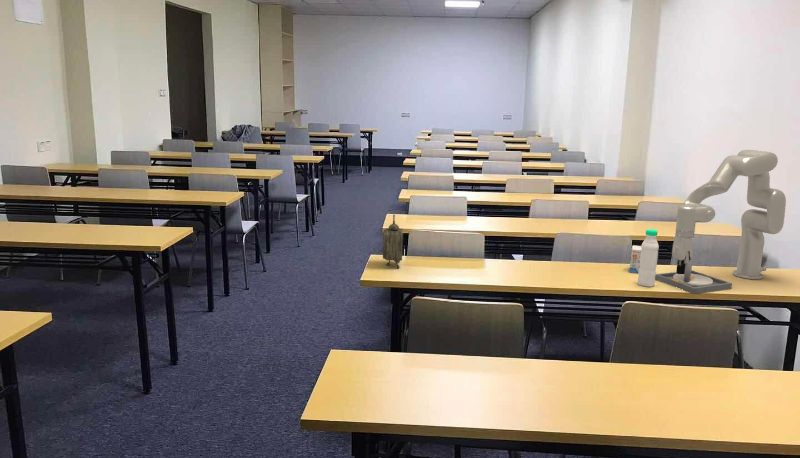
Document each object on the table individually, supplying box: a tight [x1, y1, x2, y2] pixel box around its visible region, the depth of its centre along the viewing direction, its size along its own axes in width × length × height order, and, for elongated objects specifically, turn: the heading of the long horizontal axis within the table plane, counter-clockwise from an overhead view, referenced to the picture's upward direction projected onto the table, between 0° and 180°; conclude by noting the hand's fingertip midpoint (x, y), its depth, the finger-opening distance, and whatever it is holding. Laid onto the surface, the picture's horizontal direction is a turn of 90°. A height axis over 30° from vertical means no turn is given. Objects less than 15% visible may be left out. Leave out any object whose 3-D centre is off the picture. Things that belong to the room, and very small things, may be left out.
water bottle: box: [637, 228, 660, 288], centre depth 266 cm, size 7×7×25 cm
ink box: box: [628, 245, 642, 274], centre depth 288 cm, size 9×8×12 cm
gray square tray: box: [655, 270, 733, 295], centre depth 270 cm, size 22×22×3 cm
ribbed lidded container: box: [382, 214, 404, 269], centre depth 289 cm, size 14×9×25 cm, turn 179°
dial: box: [673, 260, 713, 287], centre depth 269 cm, size 16×16×10 cm
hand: (680, 273), depth 269 cm, fingers closed
